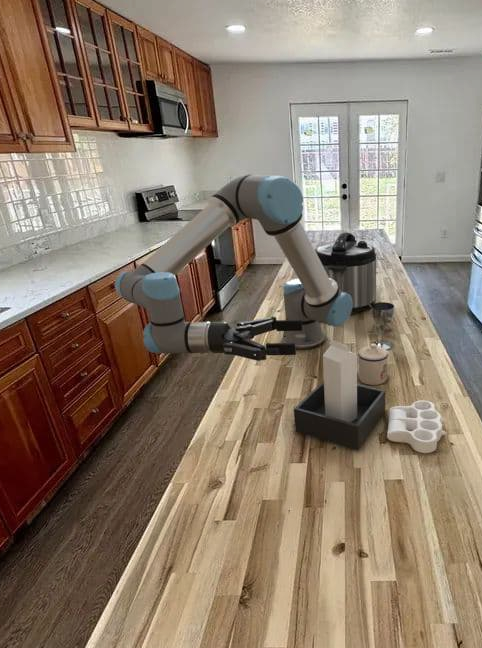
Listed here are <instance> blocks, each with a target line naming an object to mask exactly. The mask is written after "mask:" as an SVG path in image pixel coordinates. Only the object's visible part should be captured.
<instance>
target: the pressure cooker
mask: <svg viewBox="0 0 482 648" xmlns="http://www.w3.org/2000/svg"><path fill="white" fill-rule="evenodd" d="M314 249H315V251H316V253H317V255H318V257H319V259H320V261H321V263H322V265H323V267H324V269H325V271H326V273H327V275H328V277H329V279H333V280H335V281H336V283H337V285H338V287H339V289H340V291H341V292H343V293H344V292H345V293H347V294H349V295H350V296H351V298H352V301H353V307H352V311H351V314H357V313H360V312H361V311H366V310H371V307H370V306H369V305H372V304H374V303H376V301H377V253H376V250H375V247H374V246H373V245H369V244H368V243H367V241H365V240H359V241H357V239H356V237H355V235H354V234H353V233H351V232H345V231H344V232H341V233H340V234H339V235H338V237H337V238H336V240H335V242H334V243H329V244H324V245H320V246H317V247H316V248H314Z"/></svg>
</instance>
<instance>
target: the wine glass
mask: <svg viewBox="0 0 482 648" xmlns="http://www.w3.org/2000/svg"><path fill="white" fill-rule="evenodd" d="M370 313H371V314H370V315H371V320H372V322H373V324H375V326H376V327H377V329H378V330H379V332H380V340H378V341H375V342H373V343H372V344H376V345H377V346H379V347H382V348H384V349H386V350H389V349H391V348H392V346H393V345H392V343H391V342H389V341H386V340H385V341H384V333H385V330H386V329H387V328H388V327H387V326H388V325H389V326H390V324H391V322H392V323H393V319H394V315H395V306H394V304H393V303H390V302H386V301H379V302H375V303H374V304H372V305H371V308H370Z"/></svg>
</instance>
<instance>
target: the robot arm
mask: <svg viewBox="0 0 482 648" xmlns="http://www.w3.org/2000/svg"><path fill="white" fill-rule="evenodd" d="M303 203H304V196H303V193H302V190H301V188H300V187H299V186H298V184H297V183H296V182H295V181H293V180H292V179H291V178H288V177H286V176H282V175H279V174H269V175H266V174H265V175H264V174H263V175H262V174H242V175H240V176H237V177H236V178H233V179H232V180H231V181H229V182H228V183H226V184H225V185H224V186H222V187H221V188H220V189H218V191H216V192H215V193H214V194H213V195H212V196H211V197H209V199H208V200H207V205H206V206H205V207H204V208H203V209H202V210H201V211H200V212H198V213H197V214H196V215H195V216H194V217H192V218H191V220H189V221H188V222H187V223H186V224H185V225H184V226H183V227H181V229H179V230H178V231H177V232H176V233H175V234H174V235H172V236H171V237H170V238H169V239H168V240H167V241H166V242H165V243H163V244H162V245H161V246H160V247H159V248H158V249H156V251H154V252H153V253H152V254H151V255H150V256H149V257H148V258H146V259H145V260H144V261H143V262H142V263H141V264H140V265H138V266H137V267H136V268H135V269H134V270H125V271H123V272H121V273H119V274H118V275H117V277H116V278H115V282H114V289H115V291H116V293H117V295H118V296H119V297H121V298H122V299H123V300H124V301H127V302H128V303H130V304H134V305H137V306H139V307H141V308H143V309H145V310H147V312H148V315H149V319H150V322H149V323H147V324H146V325H145V327H144V329H143V332H142V336H143V338H142V341H143V345H144V348H145V349H146V350H147V351H148V352H149V353H152V354H163V355H170V354H173V355H174V354H200V355H204V354H210V353H212V354H225V355H226V356H227V355H230V356H235V357H236V356H237V357H239V358H245V359H248V360H252V361H256V362H261V361H266V360H267V356H296V354H297V352H296V350H307V349H314V348H316V347H318V346H320V345H322V344H323V343H324V341H325V334H324V331H323V329H322V326H321V324H324V325H326V326H329V327H335V328H338V327H341V326H343V325H344V324H345V323H347V321H348V320H349V318H350V317H351V314H352V313H351V311H352V307H353V301H352V298H351V296H350V295H349V294H347V293H345V292H344V293H343V292H341V291H340V289H339V287H338V285H337V283H336V281H335V280H333V279H329V277H328V275H327V273H326V271H325V269H324V267H323V265H322V263H321V261H320V259H319V257H318V255H317V253H316V251H315V249H316V248H315V247H314V246H313V244H312V241H311V239H310V238H309V235H308V234H307V232H306V230H305V228H304V225H303V223H302V222H301V221H302V219H303V211H304V205H303ZM247 219H251V220H257V221H258V223H259V225H260V226H261V228H262V230H263V231H264V233H265V234H266V235H267V236H270V237H274V239H275V240H276V242H277V244H278V246H279V247H280V250H281V251H282V253H283V254H284V257H285V258H286V260H287V261H288V264H289V265H290V266H291V267H290V268H292V270H293V272H294V273H295V275H296V277H297V279H296V278H295V279H291V280H289V281H287V282H285V284H284V285H283V294H282V295H283V303H284V313H285V319H277V316H276V315H275V316H267V317H264V318H257V319H251V320H246V321H237V322H236V327H231V326H230V324H229V323H228V322H227V321H212V322H210V321H193V322H188V321H186V320H185V314H184V310H183V304H182V297H181V294H180V293H181V290H180V286H179V284H178V282H177V277H176V276H177V275H178V274H179V273H180V272H181V271H182V270H183V269H184V268H185V267H186V266H187V265H189V264H190V263H191V262H192V261H193V260H194V259H195V258H196V257H197V256H198V255H199V254H201V252H203V251H204V250H205V249H206V248H207V247H208V246H209V245H210V244H211V243H212V242H214V241H215V239H217V238H218V237H219V236H220V235H221V234H222V233H224V231H226V230H227V228H234V227H236V226H237V224H239V223H240V222H241V221H244V220H247ZM320 323H321V324H320ZM272 331H276V332H283V333H282V342H267V343H265V344H262V343H260V342H258V341H255V340H252V339H254V338H255V337H257V336H259V335H263V334H266V333H269V332H272Z"/></svg>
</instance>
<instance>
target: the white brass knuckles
mask: <svg viewBox="0 0 482 648" xmlns="http://www.w3.org/2000/svg"><path fill="white" fill-rule="evenodd" d="M387 421H388V424H387V432H386V438H387V439H388V440H389V441H391V442H394V443H405V444H406V443H407V444H408V445H410V447H411V448H412V449H413V450H414V451H415V452H418V453H420V454H421V453H422V454H430V453H433V452H435V451H436V450H437V447H438V442H439V441H441V438H442V436H445V435H448V433H447V432H446V431H445V430H443V427H444V426H443V424H442V423H443V422H445V421H447V419H446V418H444V417H442V415H441V413H440V412H438V411H437V410H436V404H435V403H433V402H431V401H429V400H417V401H414V402H413V403H412V404H411V405H395V406H392V407H390V408H389V412H388V420H387Z"/></svg>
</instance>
